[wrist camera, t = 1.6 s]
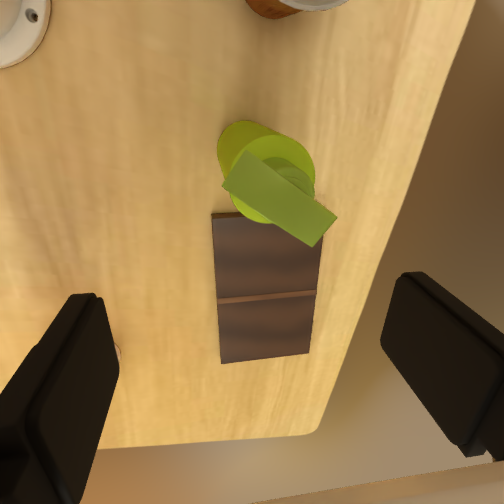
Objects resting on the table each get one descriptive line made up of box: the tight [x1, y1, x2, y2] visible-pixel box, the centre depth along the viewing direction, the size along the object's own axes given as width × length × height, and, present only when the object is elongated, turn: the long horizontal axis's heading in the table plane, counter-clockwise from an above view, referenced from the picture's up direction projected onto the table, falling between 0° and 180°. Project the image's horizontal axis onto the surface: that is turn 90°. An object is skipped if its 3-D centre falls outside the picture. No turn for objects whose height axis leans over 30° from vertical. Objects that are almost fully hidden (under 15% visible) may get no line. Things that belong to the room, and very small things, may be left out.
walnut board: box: [211, 212, 323, 364], centre depth 39 cm, size 22×13×2 cm, turn 0°
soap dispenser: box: [217, 121, 337, 247], centre depth 22 cm, size 6×7×20 cm
